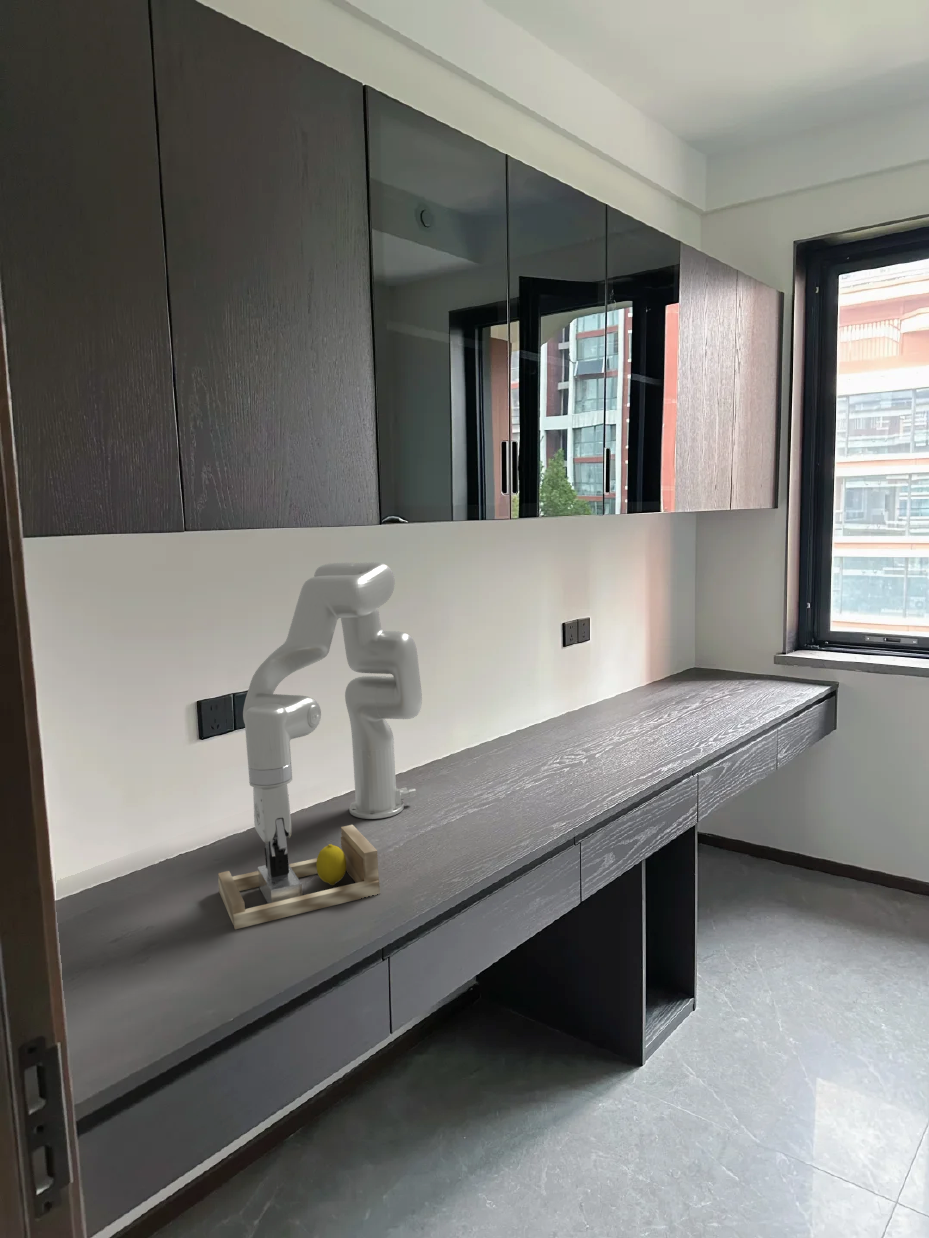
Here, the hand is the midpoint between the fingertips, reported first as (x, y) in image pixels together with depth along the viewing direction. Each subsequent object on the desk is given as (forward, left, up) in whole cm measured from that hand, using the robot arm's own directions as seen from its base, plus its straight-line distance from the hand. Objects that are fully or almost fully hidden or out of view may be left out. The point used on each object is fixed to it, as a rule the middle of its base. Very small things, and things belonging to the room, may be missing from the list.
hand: (277, 870), depth 153 cm
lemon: (-10, 0, -5) cm, 11 cm away
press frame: (-4, 0, -5) cm, 6 cm away
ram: (0, 0, -5) cm, 5 cm away
